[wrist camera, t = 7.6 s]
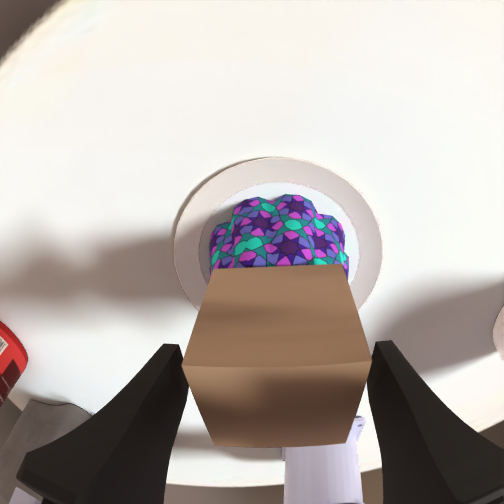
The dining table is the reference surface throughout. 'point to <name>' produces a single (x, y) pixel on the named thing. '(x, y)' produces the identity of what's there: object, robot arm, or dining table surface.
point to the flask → (34, 439)
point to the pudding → (277, 226)
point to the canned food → (10, 361)
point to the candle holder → (499, 334)
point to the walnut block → (278, 357)
